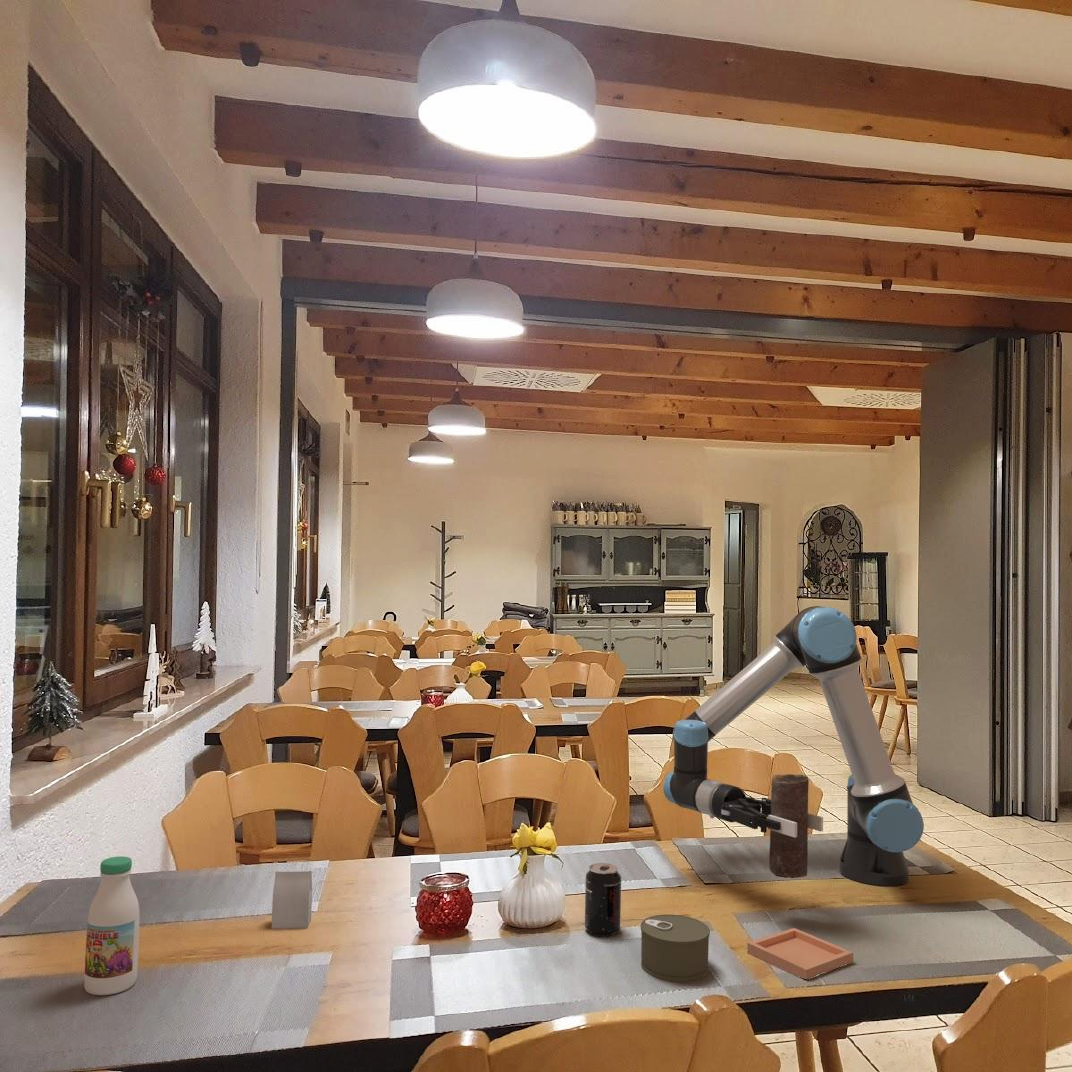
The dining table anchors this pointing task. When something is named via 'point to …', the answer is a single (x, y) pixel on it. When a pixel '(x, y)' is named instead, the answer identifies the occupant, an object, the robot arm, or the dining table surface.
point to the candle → (792, 806)
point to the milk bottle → (112, 931)
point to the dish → (799, 953)
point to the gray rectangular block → (292, 899)
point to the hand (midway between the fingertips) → (808, 827)
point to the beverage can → (603, 899)
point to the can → (674, 948)
